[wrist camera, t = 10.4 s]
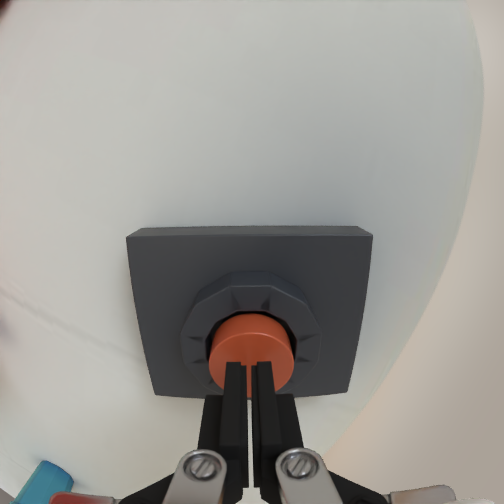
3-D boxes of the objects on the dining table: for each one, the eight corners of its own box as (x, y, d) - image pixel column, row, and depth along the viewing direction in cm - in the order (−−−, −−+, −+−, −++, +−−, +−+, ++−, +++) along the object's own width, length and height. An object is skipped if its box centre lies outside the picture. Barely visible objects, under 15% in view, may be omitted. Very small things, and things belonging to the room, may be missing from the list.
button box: (357, 225, 15) (389, 243, 12) (338, 372, 18) (355, 412, 14) (140, 227, 15) (109, 246, 11) (162, 374, 18) (147, 415, 14)
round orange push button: (291, 311, 13) (297, 331, 11) (287, 373, 14) (291, 396, 12) (210, 312, 13) (205, 332, 11) (215, 374, 14) (212, 397, 12)
